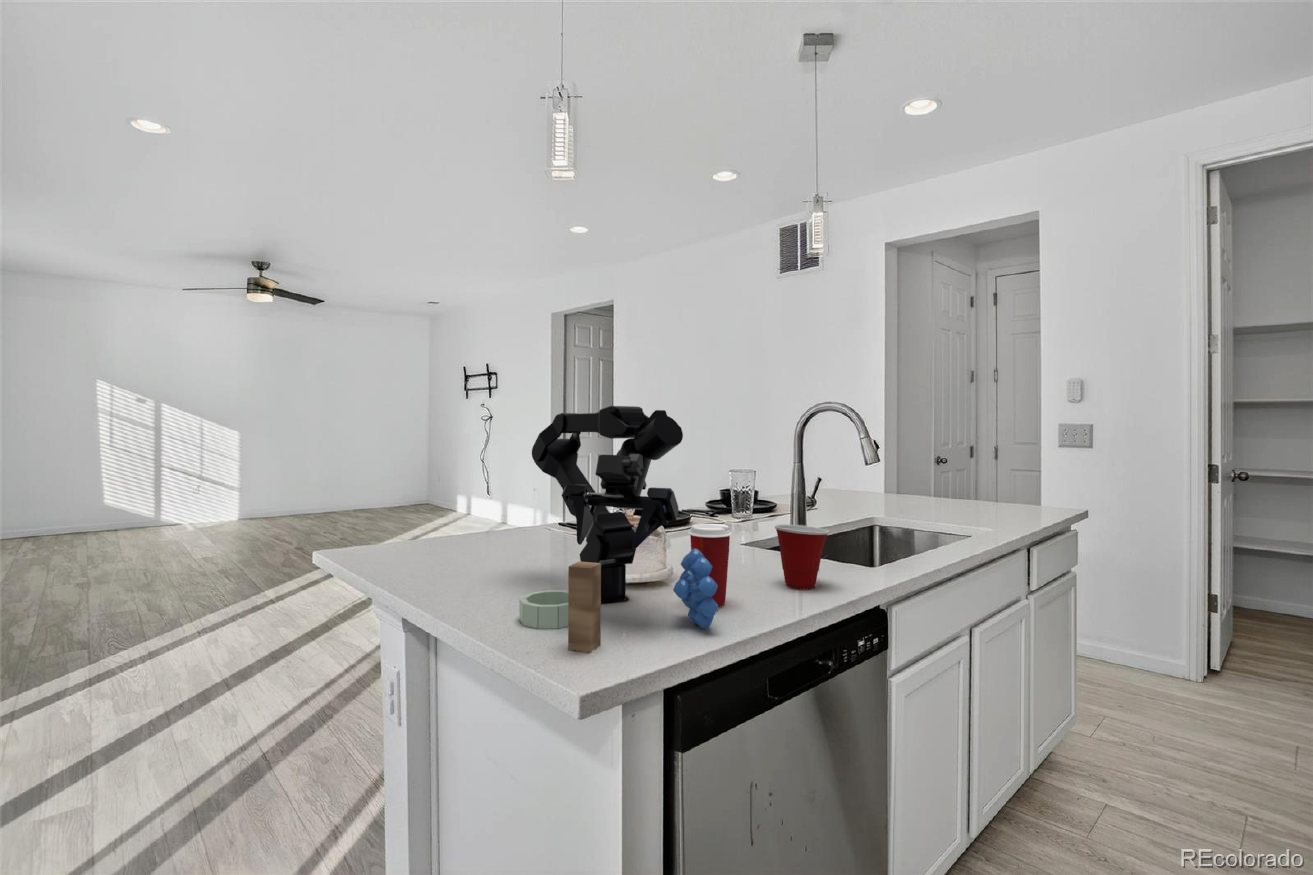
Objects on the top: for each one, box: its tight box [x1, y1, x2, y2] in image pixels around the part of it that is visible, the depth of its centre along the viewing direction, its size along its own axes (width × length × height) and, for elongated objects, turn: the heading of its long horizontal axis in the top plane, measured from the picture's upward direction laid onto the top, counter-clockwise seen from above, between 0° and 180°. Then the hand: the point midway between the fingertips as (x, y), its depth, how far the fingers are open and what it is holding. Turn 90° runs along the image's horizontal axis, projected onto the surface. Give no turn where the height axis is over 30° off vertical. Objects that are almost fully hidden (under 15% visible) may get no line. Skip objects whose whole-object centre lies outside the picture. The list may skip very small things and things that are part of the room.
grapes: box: [672, 549, 719, 629], centre depth 105 cm, size 12×7×12 cm, turn 19°
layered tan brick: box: [567, 561, 602, 654], centre depth 94 cm, size 4×4×12 cm
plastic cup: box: [774, 523, 830, 591], centre depth 130 cm, size 11×11×12 cm
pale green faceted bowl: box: [518, 589, 568, 630], centre depth 108 cm, size 10×10×4 cm
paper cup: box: [687, 523, 733, 609], centre depth 117 cm, size 8×8×14 cm
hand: (605, 545), depth 102 cm, fingers open, 9 cm apart
